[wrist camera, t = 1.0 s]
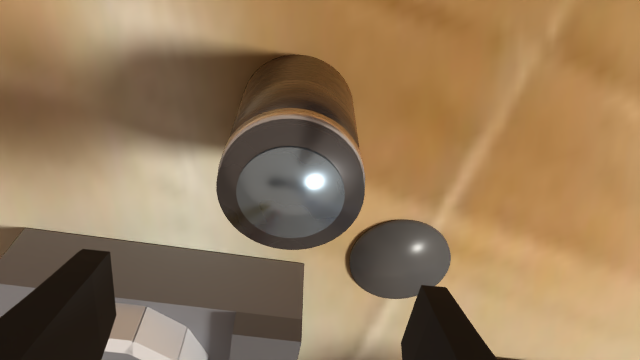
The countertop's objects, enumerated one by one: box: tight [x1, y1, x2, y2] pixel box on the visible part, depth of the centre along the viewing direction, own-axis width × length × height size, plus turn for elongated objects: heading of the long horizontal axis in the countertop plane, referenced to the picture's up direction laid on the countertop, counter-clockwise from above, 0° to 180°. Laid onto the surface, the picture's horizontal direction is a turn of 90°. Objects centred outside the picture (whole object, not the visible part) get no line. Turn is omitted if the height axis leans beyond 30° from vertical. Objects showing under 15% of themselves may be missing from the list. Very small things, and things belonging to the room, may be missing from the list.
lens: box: [217, 55, 365, 250], centre depth 17 cm, size 4×4×6 cm
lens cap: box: [350, 220, 451, 299], centre depth 24 cm, size 5×5×1 cm
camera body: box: [0, 228, 304, 360], centre depth 24 cm, size 13×8×5 cm, turn 80°
